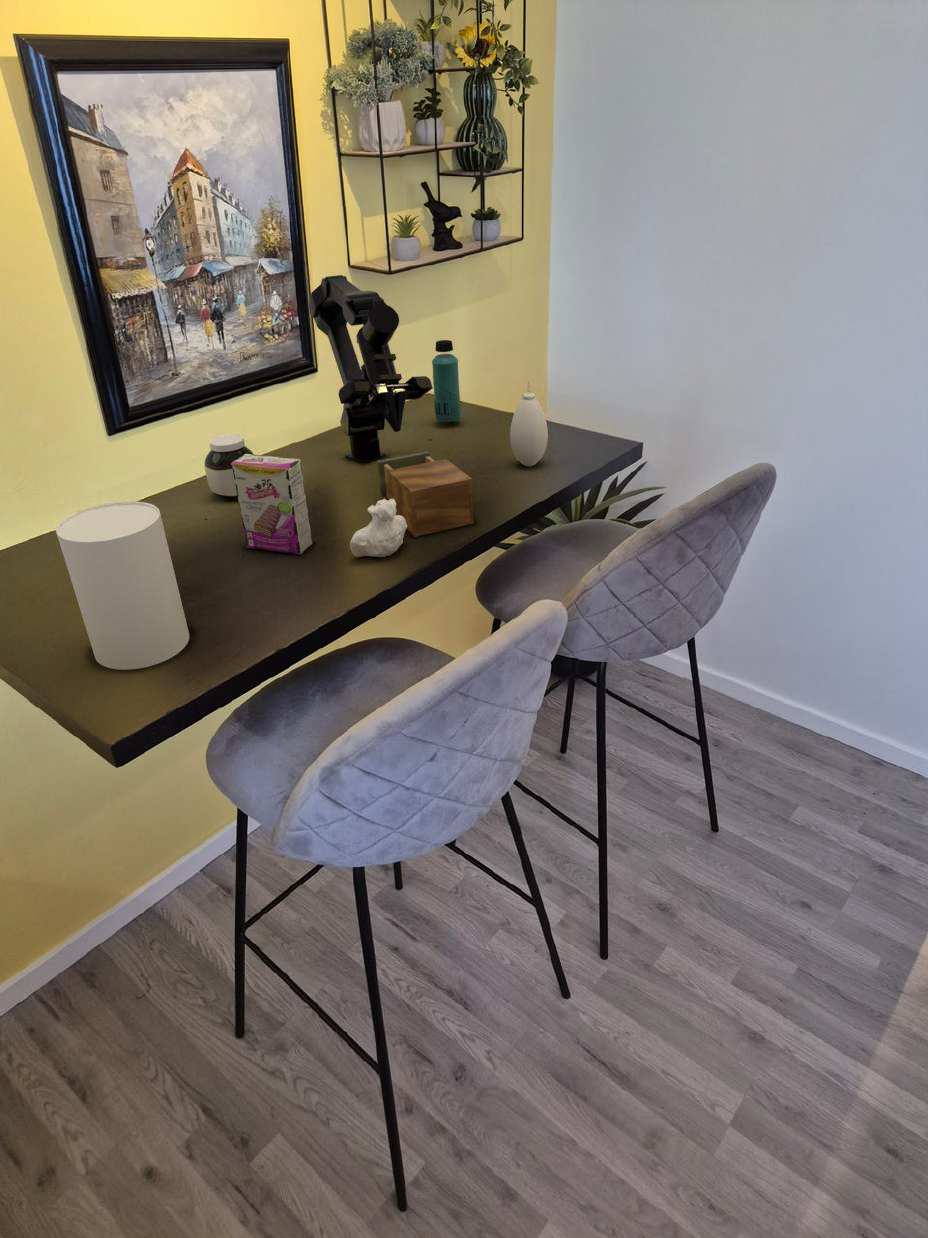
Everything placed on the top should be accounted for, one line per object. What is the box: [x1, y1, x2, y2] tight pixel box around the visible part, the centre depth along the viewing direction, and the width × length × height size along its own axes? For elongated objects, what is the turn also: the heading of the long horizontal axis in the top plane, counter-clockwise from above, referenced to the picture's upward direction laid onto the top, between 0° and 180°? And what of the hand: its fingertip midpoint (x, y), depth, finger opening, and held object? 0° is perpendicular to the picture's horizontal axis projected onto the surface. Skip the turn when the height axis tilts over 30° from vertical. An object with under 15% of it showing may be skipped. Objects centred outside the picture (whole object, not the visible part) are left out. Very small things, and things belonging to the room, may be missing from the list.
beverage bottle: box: [431, 339, 462, 423], centre depth 207 cm, size 6×7×20 cm
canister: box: [55, 500, 190, 671], centre depth 123 cm, size 14×14×20 cm
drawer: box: [376, 450, 436, 500], centre depth 169 cm, size 12×11×7 cm
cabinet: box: [388, 458, 475, 538], centre depth 161 cm, size 12×12×9 cm
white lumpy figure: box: [349, 498, 407, 558], centre depth 149 cm, size 12×8×11 cm
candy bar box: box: [231, 454, 313, 555], centre depth 151 cm, size 11×5×16 cm, turn 71°
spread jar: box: [204, 433, 255, 501], centre depth 177 cm, size 12×11×12 cm
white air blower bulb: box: [509, 380, 549, 467], centre depth 181 cm, size 8×8×18 cm
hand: (397, 431), depth 169 cm, fingers closed
